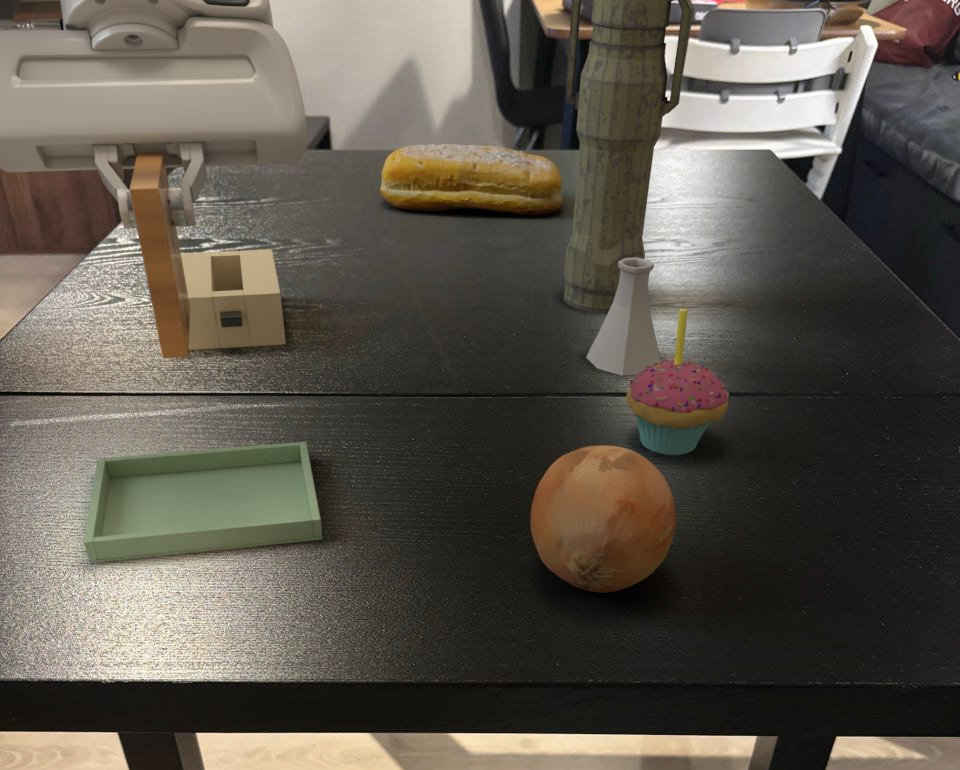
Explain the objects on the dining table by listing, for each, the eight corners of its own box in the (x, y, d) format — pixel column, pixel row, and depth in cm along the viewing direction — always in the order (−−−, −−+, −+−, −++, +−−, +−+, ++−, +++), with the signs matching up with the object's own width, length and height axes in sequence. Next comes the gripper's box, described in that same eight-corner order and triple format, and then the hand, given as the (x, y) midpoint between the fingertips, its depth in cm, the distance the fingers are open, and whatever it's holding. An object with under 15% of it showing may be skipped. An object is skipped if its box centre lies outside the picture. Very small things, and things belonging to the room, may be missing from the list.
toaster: (186, 309, 104) (177, 253, 100) (278, 304, 106) (272, 249, 102) (185, 365, 92) (174, 304, 89) (287, 358, 94) (281, 298, 90)
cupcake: (608, 425, 85) (625, 291, 77) (697, 419, 86) (722, 287, 78) (638, 471, 78) (659, 330, 70) (734, 465, 79) (765, 325, 72)
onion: (658, 543, 70) (679, 419, 63) (670, 625, 62) (696, 494, 56) (528, 535, 70) (536, 411, 64) (524, 617, 62) (533, 485, 56)
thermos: (650, 319, 105) (706, -71, 83) (546, 310, 107) (573, -76, 84) (652, 293, 112) (705, -75, 90) (554, 285, 113) (582, -79, 91)
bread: (384, 193, 144) (382, 135, 139) (556, 197, 144) (560, 140, 139) (378, 218, 133) (376, 157, 128) (563, 222, 134) (568, 161, 129)
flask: (621, 383, 92) (634, 279, 85) (573, 358, 96) (582, 258, 90) (674, 367, 95) (690, 266, 89) (625, 344, 99) (637, 246, 93)
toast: (166, 308, 66) (137, 152, 60) (190, 307, 66) (163, 152, 60) (162, 359, 59) (129, 189, 53) (189, 357, 60) (158, 188, 53)
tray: (90, 566, 66) (83, 542, 64) (103, 480, 75) (97, 458, 73) (323, 542, 69) (320, 519, 67) (308, 463, 78) (306, 441, 76)
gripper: (-57, -19, 56) (-34, 200, 55) (290, -17, 60) (318, 188, 59) (-20, 57, 62) (1, 255, 61) (292, 55, 66) (317, 241, 65)
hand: (159, 222), depth 60 cm, fingers closed on toast, 1 cm apart
